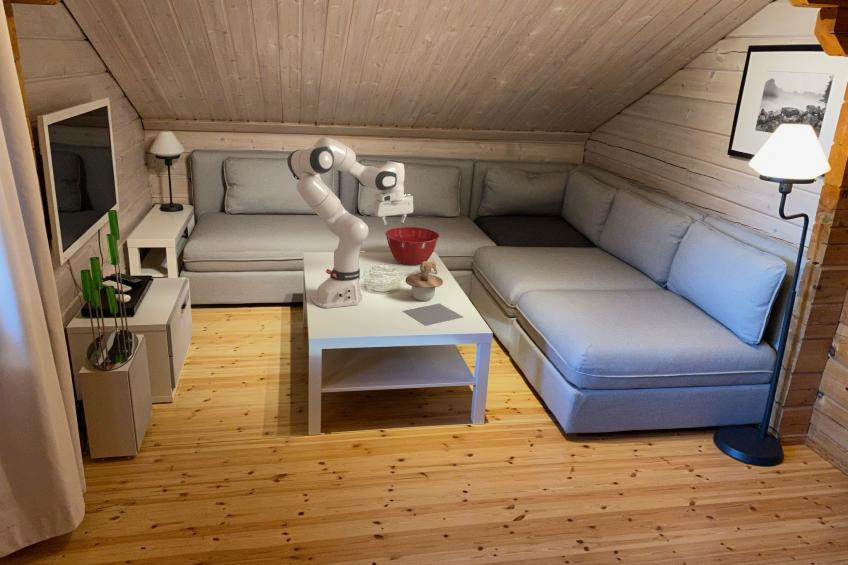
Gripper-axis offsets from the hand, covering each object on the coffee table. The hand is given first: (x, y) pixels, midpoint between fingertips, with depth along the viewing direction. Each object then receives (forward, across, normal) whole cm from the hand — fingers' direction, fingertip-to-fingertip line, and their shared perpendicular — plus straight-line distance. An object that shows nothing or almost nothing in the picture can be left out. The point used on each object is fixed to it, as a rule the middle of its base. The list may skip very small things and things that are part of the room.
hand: (393, 223), depth 315 cm
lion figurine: (+29, -22, +1) cm, 36 cm away
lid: (+21, -2, +25) cm, 33 cm away
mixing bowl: (+29, -27, -23) cm, 46 cm away
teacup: (+29, -2, +25) cm, 39 cm away
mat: (+29, +6, +44) cm, 53 cm away
